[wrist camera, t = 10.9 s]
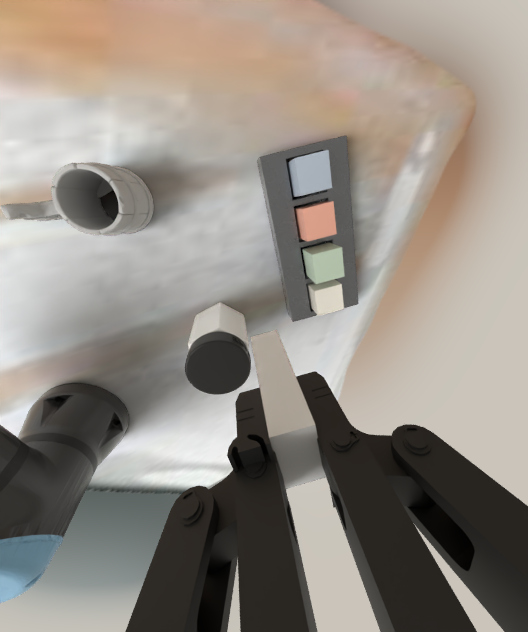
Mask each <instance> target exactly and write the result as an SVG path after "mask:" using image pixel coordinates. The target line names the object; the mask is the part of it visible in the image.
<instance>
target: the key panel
mask: <svg viewBox="0 0 528 632" xmlns="http://www.w3.org/2000/svg"><path fill="white" fill-rule="evenodd" d="M325 150H329V160H330V171H331V181H332V188H330V189H326V190H322V191H320V193H317V194H313V195H309V196H305V197H301V198H297V199H293V200H292V194H291V188H290V182H289V176H288V170H287V164H286V161H289V160H293V159H294V158H297V157H301V156H305V155H309V154H313V153H317V152H321V151H325ZM257 163H258V168H259V173H260V178H261V183H262V188H263V193H264V197H265V202H266V207H267V212H268V217H269V222H270V227H271V231H272V236H273V241H274V246H275V251H276V256H277V261H278V265H279V270H280V275H281V280H282V285H283V290H284V295H285V299H286V304H287V309H288V314H289V316H290V318H291V320H292V321H293V322H294V321H298V320H301V319H305V318H309V317H312V316H316V315H317V314H316V313H315V311H314V310H313V309H312V308H311V307H310V305H309V299H308V293H307V287H306V284H308V283H311V282H313V281H312V280H311V279H310V278H309V277H308V276H307V275H306V273H304V268H303V262H302V256H301V250H300V248H301V247H305V246H309V245H313V244H316V243H320V242H324V241H326V243H328V242H329V243H332V244H335V245H338V246H340V247H342V253H343V264H344V275H345V277H341V278H337V279H335V280H336V281H338V282H339V283H341V284H342V293H343V303H344V308H346V307H349V306H353V305H357V304H358V292H357V278H356V263H355V249H354V235H353V221H352V207H351V193H350V178H349V164H348V150H347V136H342V137H338V138H334V139H330V140H326V141H322V142H318V143H314V144H310V145H306V146H302V147H298V148H294V149H290V150H286V151H282V152H278V153H274V154H270V155H266V156H262V157H259V159H258V160H257ZM320 199H321V202H324V201H334V212H335V222H336V232H337V234H335V235H331V236H327V237H323V238H320V239H316V240H312V241H308V242H307V241H305V240H302V239H299V237H298V231H297V225H296V219H295V213H294V207H293V206H297V205H301V204H305V203H309V202H313V201H317V200H320Z"/></svg>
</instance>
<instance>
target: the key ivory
mask: <svg viewBox="0 0 528 632" xmlns="http://www.w3.org/2000/svg"><path fill="white" fill-rule="evenodd" d="M306 287H307V293H308V299H309V305H310V307H311V308H312V309H313V310H314V311H315V313H316V314H317V315H318V316H320V315H324V314H328V313H331V312H335V311H339V310H343V309H344V303H343V293H342V284H341V283H339V282H338V281H336V280H335V279H334V280H330V281H326V282H322V283H319V284H316V283H314V282H311V283H308V284H306Z"/></svg>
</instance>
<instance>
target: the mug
mask: <svg viewBox="0 0 528 632" xmlns="http://www.w3.org/2000/svg"><path fill="white" fill-rule="evenodd" d="M52 185H54V186H52V187H51V194H52V199H53V200H50V201H44V202H35V203H20V204H7V205H2V206H0V208H1V210H2V212H3V213H4V215H5V216H6V218H7V219H9V220H13V219H26V220H37V221H47V220H58V219H64V220H66V221H67V223H68V224H70V225H71V226H73V227H74V228H76V229H77V230H79V231H81V232H84V233H87V234H92V235H106V236H113V235H119V234H122V233H124V234H129V233H135V232H138V231H140V230H142V229H144V228H145V227H146V226H147V225H148V223H149V222H150V220H151V218H152V215H153V210H154V204H153V198H152V195H151V193H150V191H149V189H148V187H147V186H146V184H145V183H144V182H143V180H142V179H141V178H140V177H138V176H137V175H136V174H134V173H133V172H131V171H130V170H128V169H124V168H121V167H116V166H110V165H107V164H106V165H105V164H100V163H78V164H77V163H71V164H68V165H65V166H63V167H62V168H61V169H60V170H59V171H58V172H57V173H56V174H55V176H54V178H53V181H52ZM113 190H114V191H115V194H116V196H117V199H118V205H119V213H118V215H117V217H116V219H115V221H114V220H113V219H112V218H111V217H109V216H108V214H107V213H106V212H105V210H104V209H103V207H102V204H101V200H100V197H102V196H104V195H106V194H107V193H109V192H111V191H113Z"/></svg>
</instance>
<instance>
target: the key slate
mask: <svg viewBox="0 0 528 632" xmlns="http://www.w3.org/2000/svg"><path fill="white" fill-rule="evenodd" d="M287 170H288V176H289V182H290V188H291V194H292V197H296V196H303V195H306V194H310V193H314V192H318V191H322V190H326V189H330V188H332V181H331V171H330V160H329V150H325V151H321V152H317V153H313V154H309V155H305V156H301V157H297V158H294V159H293V160H291V161H290V162H288V163H287Z"/></svg>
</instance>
